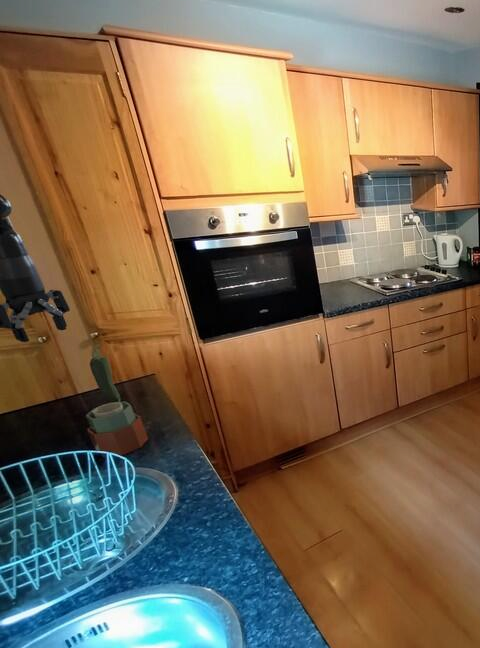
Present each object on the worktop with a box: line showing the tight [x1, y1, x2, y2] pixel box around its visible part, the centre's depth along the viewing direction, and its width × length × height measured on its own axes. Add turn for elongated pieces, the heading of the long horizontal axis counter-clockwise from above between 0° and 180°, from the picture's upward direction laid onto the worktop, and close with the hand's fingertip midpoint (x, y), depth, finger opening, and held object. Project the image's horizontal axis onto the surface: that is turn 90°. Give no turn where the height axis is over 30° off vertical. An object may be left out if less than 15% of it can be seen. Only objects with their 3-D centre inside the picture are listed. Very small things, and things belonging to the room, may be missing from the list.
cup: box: [92, 402, 124, 418], centre depth 118 cm, size 6×6×9 cm
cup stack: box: [85, 401, 149, 458], centre depth 118 cm, size 10×10×11 cm
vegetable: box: [89, 343, 121, 403], centre depth 136 cm, size 4×4×20 cm
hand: (44, 335), depth 117 cm, fingers open, 8 cm apart
